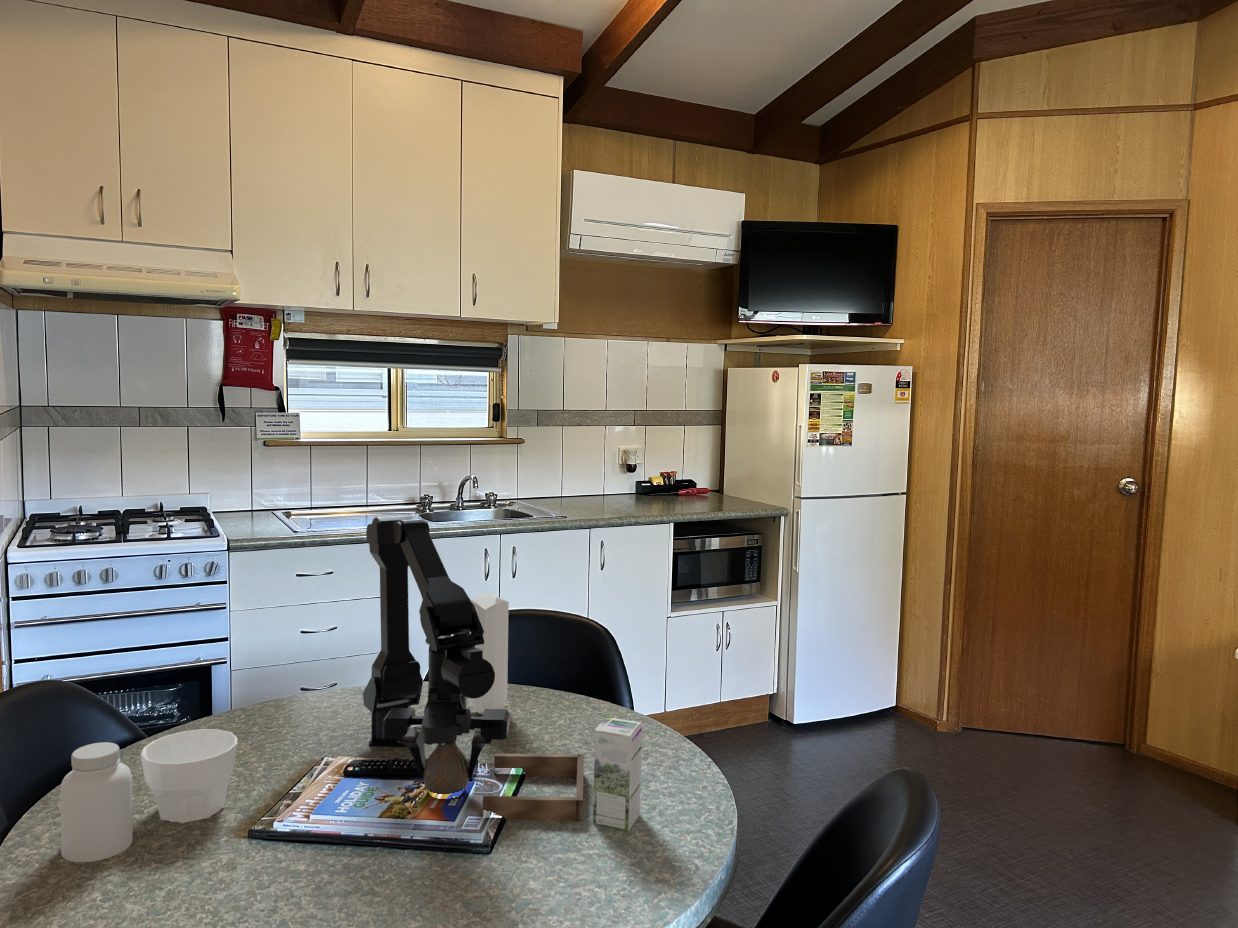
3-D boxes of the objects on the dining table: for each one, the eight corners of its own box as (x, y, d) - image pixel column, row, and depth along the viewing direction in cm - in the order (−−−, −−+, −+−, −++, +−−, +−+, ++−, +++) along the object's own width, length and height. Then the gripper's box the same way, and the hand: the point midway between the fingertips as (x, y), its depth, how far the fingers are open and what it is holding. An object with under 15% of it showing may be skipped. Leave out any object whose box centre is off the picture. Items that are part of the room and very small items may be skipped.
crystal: (463, 722, 163) (465, 597, 161) (469, 709, 170) (470, 589, 168) (503, 723, 163) (505, 598, 161) (507, 709, 170) (509, 589, 168)
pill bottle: (82, 885, 107) (79, 767, 106) (49, 865, 111) (46, 752, 110) (145, 857, 114) (143, 746, 113) (112, 839, 118) (110, 732, 117)
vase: (464, 807, 129) (465, 751, 129) (418, 806, 130) (418, 749, 129) (473, 787, 136) (473, 733, 136) (429, 785, 136) (429, 731, 136)
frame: (482, 822, 125) (482, 798, 125) (494, 774, 141) (494, 753, 141) (582, 823, 126) (582, 800, 125) (583, 775, 142) (583, 754, 141)
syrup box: (641, 814, 129) (643, 720, 128) (628, 833, 123) (631, 734, 122) (605, 807, 131) (607, 714, 129) (591, 825, 125) (593, 728, 124)
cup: (183, 795, 131) (182, 724, 130) (256, 805, 129) (256, 733, 128) (120, 835, 119) (119, 758, 118) (200, 847, 116) (199, 768, 116)
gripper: (372, 695, 123) (372, 801, 124) (503, 697, 124) (502, 802, 125) (390, 670, 134) (389, 768, 136) (511, 672, 135) (509, 769, 136)
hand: (446, 777), depth 133 cm, fingers closed on vase, 7 cm apart
